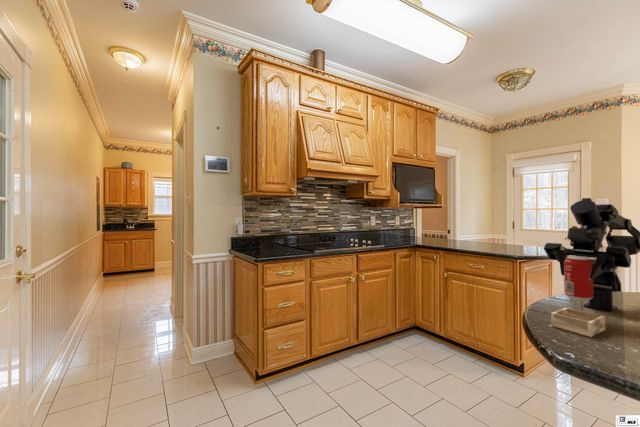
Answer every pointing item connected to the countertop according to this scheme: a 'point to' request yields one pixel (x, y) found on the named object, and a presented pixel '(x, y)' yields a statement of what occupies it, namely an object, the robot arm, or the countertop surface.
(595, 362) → the countertop surface
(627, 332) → the countertop surface
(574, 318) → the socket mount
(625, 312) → the countertop surface
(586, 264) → the beverage can
